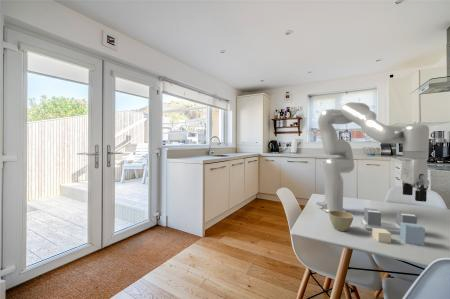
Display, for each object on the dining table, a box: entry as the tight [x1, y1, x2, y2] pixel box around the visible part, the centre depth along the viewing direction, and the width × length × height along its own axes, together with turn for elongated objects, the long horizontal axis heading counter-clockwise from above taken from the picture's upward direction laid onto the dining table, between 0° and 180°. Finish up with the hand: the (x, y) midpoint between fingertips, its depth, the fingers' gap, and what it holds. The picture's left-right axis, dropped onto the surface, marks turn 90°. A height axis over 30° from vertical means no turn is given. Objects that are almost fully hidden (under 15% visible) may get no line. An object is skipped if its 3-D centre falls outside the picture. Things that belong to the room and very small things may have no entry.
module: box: [399, 222, 426, 247], centre depth 82 cm, size 6×4×7 cm
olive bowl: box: [328, 211, 354, 232], centre depth 95 cm, size 10×10×7 cm
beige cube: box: [371, 228, 392, 244], centre depth 84 cm, size 4×4×4 cm
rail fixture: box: [360, 207, 418, 235], centre depth 94 cm, size 20×9×8 cm, turn 70°
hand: (413, 197), depth 82 cm, fingers open, 9 cm apart
